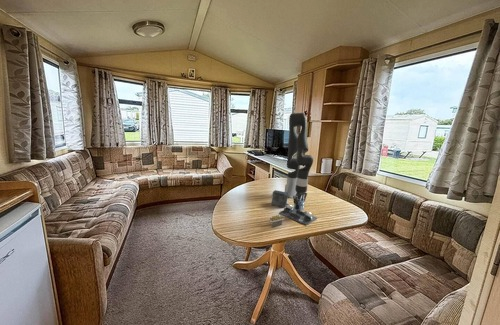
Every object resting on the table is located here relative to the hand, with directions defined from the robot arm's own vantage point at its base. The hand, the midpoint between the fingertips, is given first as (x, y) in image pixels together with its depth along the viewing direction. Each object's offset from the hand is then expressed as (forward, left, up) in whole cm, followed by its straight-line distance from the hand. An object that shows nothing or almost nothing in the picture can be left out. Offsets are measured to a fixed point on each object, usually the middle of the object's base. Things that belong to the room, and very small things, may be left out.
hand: (298, 208), depth 145 cm
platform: (-2, -22, -7) cm, 23 cm away
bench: (0, 0, -6) cm, 6 cm away
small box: (-20, +5, -6) cm, 21 cm away
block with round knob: (0, 0, -1) cm, 1 cm away
